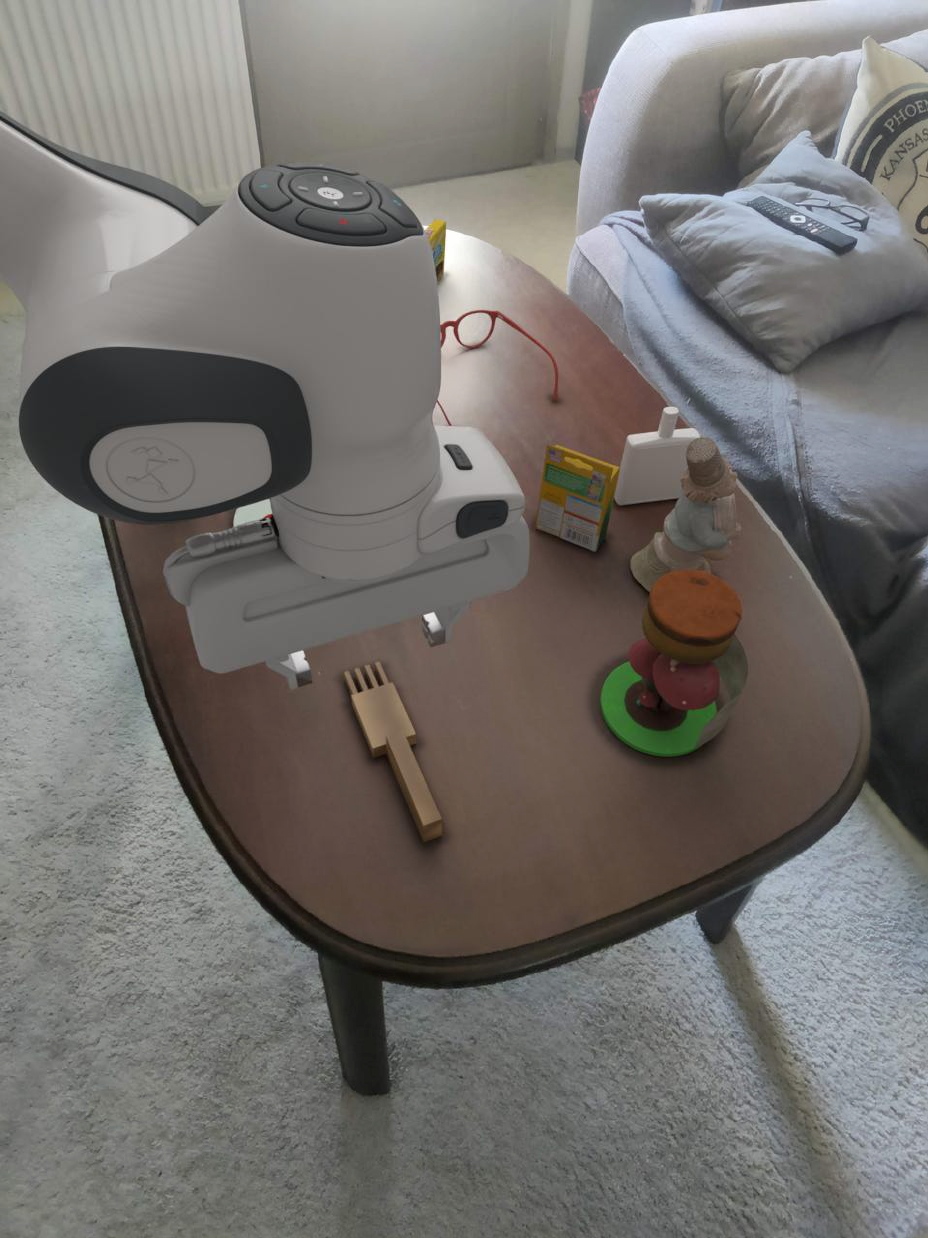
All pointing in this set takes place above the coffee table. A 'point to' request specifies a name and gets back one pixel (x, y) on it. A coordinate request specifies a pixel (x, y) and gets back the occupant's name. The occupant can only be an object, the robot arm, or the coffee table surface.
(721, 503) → the figurine
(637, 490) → the perfume bottle
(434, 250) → the candy box
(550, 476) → the crayon box
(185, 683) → the coffee table surface
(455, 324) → the red eyeglasses
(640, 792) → the coffee table surface
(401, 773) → the fork
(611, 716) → the toy burger
